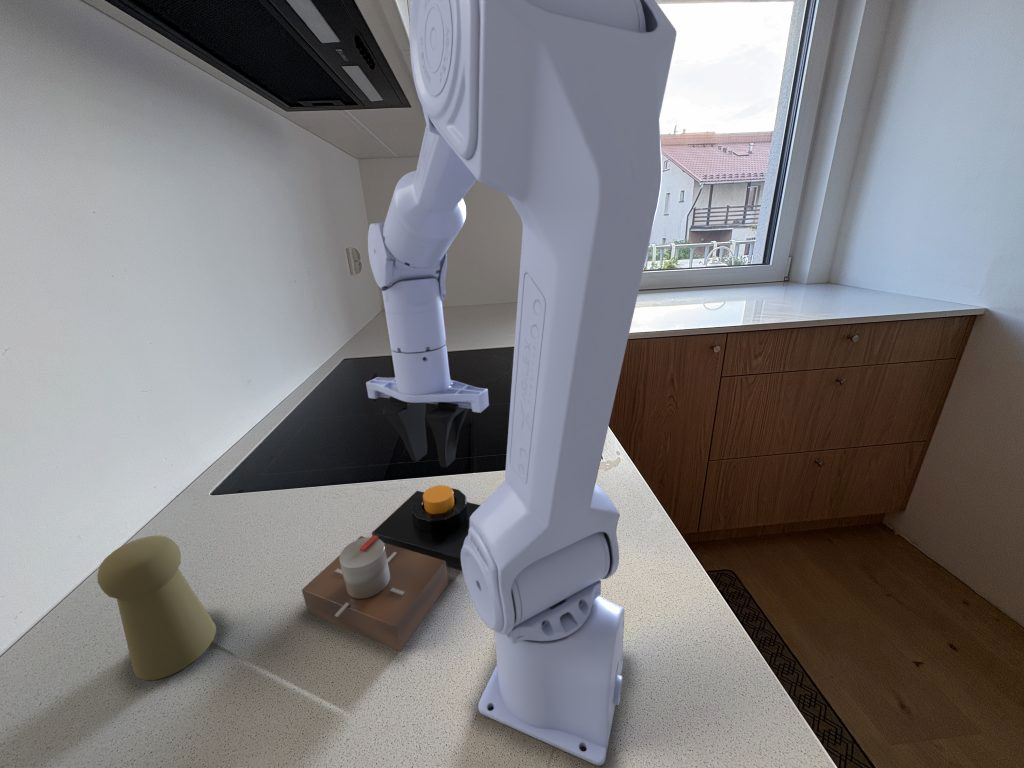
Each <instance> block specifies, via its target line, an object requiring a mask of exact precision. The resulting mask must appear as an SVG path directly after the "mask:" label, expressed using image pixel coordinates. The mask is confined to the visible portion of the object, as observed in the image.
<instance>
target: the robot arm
mask: <svg viewBox="0 0 1024 768" xmlns="http://www.w3.org/2000/svg"><path fill="white" fill-rule="evenodd" d="M408 26H409V27H408V28H409V31H408V33H409V54H410V55H409V56H410V64H411V72H412V78H413V83H414V87H415V91H416V94H417V97H418V100H419V102H420V105H421V108H422V113H423V118H424V121H425V129H424V133H423V138H422V143H421V147H420V151H419V156H418V161H417V165H416V169H415V170H412V171H409V172H408V173H406V174H404V175H403V176H402V177H401V178H400V179H399V180H398V181H397V183H396V185H395V187H394V191H393V194H392V197H391V200H390V204H389V207H388V210H387V213H386V217H385V220H384V222H375V223H374V222H373V223H370V224H369V228H368V233H367V253H368V259H369V260H368V261H369V264H370V268H371V272H372V275H373V278H374V281H375V282H376V285H377V286H378V287H379V288H380V289H381V294H382V300H383V307H384V312H385V319H386V325H387V326H386V327H387V332H388V338H389V345H390V351H391V358H392V359H391V360H392V365H393V372H394V377H381V376H377V377H375V378H373V379H370V380H369V381H366V382H365V385H366V391H367V397H368V399H373V400H376V399H379V398H384V399H385V398H386V399H389V402H388V405H386V406H385V407H384V408H383V409H382V413H383V417H384V418H385V419H387V420H388V422H389V423H390V424H391V425H392V426H393V427H394V429H395V430H396V432H397V433H398V434H399V437H400V438H401V439H402V441H403V444H404V445H405V448H406V450H407V452H408V455H409V457H410V458H411V461H412V462H418V461H420V460H421V459H422V458H423V457H425V456H426V455H427V454H428V453H427V452H428V442H427V439H428V438H427V433H426V432H427V431H426V422H427V423H428V424H429V427H430V428H431V431H432V434H433V436H434V440H435V443H436V444H435V445H436V450H437V457H438V462H439V465H440V467H441V468H448V467H449V466H450V465H451V464H452V463H453V462H454V461H455V460H456V454H457V446H458V441H459V437H460V432H461V429H462V426H463V424H464V420H465V418H466V417H467V414H468V411H469V410H470V409H471V412H473V413H477V414H479V413H480V414H481V413H482V412H483V411H485V410H486V409H487V408H488V407H489V406H490V402H489V401H490V400H489V390H488V389H489V388H484V387H483V388H482V387H478V386H474V385H471V384H467V383H464V382H460V381H458V380H453V379H451V375H450V365H449V357H448V348H447V339H446V338H447V337H446V328H445V319H444V310H443V309H444V308H443V301H444V300H446V295H447V290H446V289H447V288H446V277H447V271H448V254H447V252H448V250H449V248H450V247H451V245H452V244H453V242H454V240H455V239H456V238H457V236H458V234H459V233H460V231H461V229H462V228H463V226H464V225H465V221H466V218H467V207H466V203H465V199H464V197H465V196H466V194H468V192H469V190H470V189H471V188H472V187H473V185H474V184H475V183H476V181H478V182H479V183H481V184H483V185H486V186H488V187H490V188H492V189H494V190H496V191H498V192H500V193H502V194H504V195H506V196H507V197H508V199H509V201H510V202H511V204H512V206H513V207H514V209H515V211H516V212H517V215H518V216H519V217H520V220H521V224H522V232H521V233H522V234H521V248H520V262H519V263H520V264H519V273H518V274H519V275H518V291H517V304H516V317H515V331H514V343H513V344H514V347H513V358H512V371H511V372H512V374H511V387H510V402H509V414H508V415H509V416H508V417H509V418H508V429H507V432H508V433H507V442H506V443H507V445H506V457H505V458H506V459H505V472H504V480H503V482H502V483H501V484H500V485H499V486H498V487H497V488H496V489H495V491H494V492H492V493H491V494H490V495H489V497H487V498H486V499H485V500H484V501H483V502H482V503H481V504H479V505H480V506H479V507H478V508H477V509H476V511H475V512H474V513H473V514H472V515H471V516H470V527H469V532H468V535H467V537H466V538H465V540H464V544H463V547H462V550H461V566H462V571H461V572H462V576H463V580H464V582H465V587H466V589H467V592H468V595H469V598H470V600H471V602H472V605H473V607H474V609H475V611H476V613H477V615H478V616H479V619H480V620H481V621H482V622H483V624H484V625H485V626H486V627H487V628H488V629H489V630H491V631H493V632H494V642H495V645H494V646H495V654H496V665H495V667H494V669H493V671H492V673H491V675H490V678H489V680H488V682H487V684H486V685H485V686H486V687H485V688H484V691H483V693H482V695H481V697H480V699H479V700H478V704H477V707H478V708H477V709H478V712H479V714H481V715H483V716H485V717H487V718H489V719H492V720H494V721H496V722H498V723H500V724H502V725H505V726H507V727H509V728H511V729H514V730H517V731H519V732H521V733H523V734H526V735H527V736H530V737H532V738H534V739H536V740H539V741H541V742H543V743H545V744H548V745H550V746H553V747H554V748H557V749H559V750H560V751H563V752H565V753H568V754H571V755H573V756H575V757H576V758H579V759H582V760H583V761H586V762H588V763H590V764H592V765H595V766H602V765H604V763H605V762H606V758H607V752H608V747H609V742H610V736H611V735H610V734H611V730H612V724H613V721H614V715H615V710H616V706H619V705H620V702H621V697H622V690H623V680H624V678H623V676H622V672H623V667H624V660H623V651H624V631H625V608H624V607H623V606H621V605H619V604H616V603H614V602H612V601H610V600H608V599H606V598H605V597H603V596H601V593H602V581H601V580H608V579H609V578H611V577H612V576H613V575H614V574H615V573H616V572H617V571H618V568H619V563H620V549H619V547H620V546H619V541H618V535H617V528H618V523H619V519H620V516H621V514H620V512H619V510H618V509H617V507H616V506H615V504H614V502H613V501H612V499H611V497H610V496H608V494H607V493H606V492H605V491H604V489H603V488H601V487H600V486H599V484H597V479H598V475H599V471H600V466H601V461H602V456H603V451H604V449H605V448H604V447H605V443H606V439H607V434H608V430H609V425H610V422H611V421H610V420H611V416H612V412H613V407H614V402H615V399H616V394H617V389H618V385H619V381H620V375H621V372H622V368H623V367H622V366H623V362H624V359H625V354H626V349H627V344H628V340H629V335H630V331H631V327H632V322H633V318H634V313H635V309H636V305H637V298H638V297H639V292H640V288H641V287H640V286H641V282H642V278H643V273H644V269H645V264H646V260H647V255H648V252H649V251H648V250H649V246H650V242H651V238H652V233H653V229H654V224H655V220H656V215H657V211H658V207H659V206H658V205H659V202H660V196H661V188H662V180H663V165H662V164H663V163H662V147H661V144H662V143H661V130H660V129H661V128H660V118H661V113H662V108H663V103H664V98H665V93H666V88H667V83H668V78H669V73H670V70H671V69H670V68H671V65H672V60H673V54H674V49H675V45H676V39H677V29H676V28H675V27H674V25H673V23H672V22H671V21H670V19H669V18H668V17H667V15H666V14H665V12H664V11H663V10H662V8H661V7H660V5H659V4H658V3H657V1H656V0H410V7H409V24H408ZM427 404H430V405H431V404H432V405H437V408H434V409H433V410H431V411H430V412H428V413H427V414H426V408H427ZM489 708H493V709H492V710H489ZM583 747H584V748H585V749H586V750H585V751H582V750H581V748H583Z"/></svg>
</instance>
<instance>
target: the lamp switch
mask: <svg viewBox="0 0 1024 768" xmlns="http://www.w3.org/2000/svg"><path fill="white" fill-rule="evenodd" d="M451 488H452V490H453V494H454V503H455V504H454V507H453V508H452V509H451V510H449V511H447V512H445V513H440V514H430V513H427V512H426V511H425V508H424V501H423V494H424V492H425V491H420V490H416V491H415V492H414V493H412V495H411V496H410V497H409V498H407V499H406V500H405V501H404V502H403V503H402V504H401V505H400V506H399V507H398V508H397V509H395V510H394V511H393V513H391V514H390V515H389V516H388V517H387V518H386V519H385V520H384V521H383V522H382V523H380V525H378V526H377V527H376V528H375V529H374V530H373V531H372V532H371V537H372V536H373V535H376V536H378V539H380V540H381V541H382V542H383V543H386V544H390V545H393V546H397V547H400V548H403V549H407V550H410V551H413V552H417V553H420V554H423V555H427V556H430V557H434V558H437V559H440V560H444V561H446V567H448V568H451V569H454V570H458V571H461V572H463V571H462V566H461V550H462V547H463V544H464V540H465V538H466V537H467V535H468V532H469V527H470V516H471V515H472V514H473V513H474V512H475V511H476V509H477V508H478V507H479V506H480V505H481V504H477V503H474V502H469V501H467V496H466V494H464V493H463V492H462V491H461V490H460V489H457V488H453V487H451Z"/></svg>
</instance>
